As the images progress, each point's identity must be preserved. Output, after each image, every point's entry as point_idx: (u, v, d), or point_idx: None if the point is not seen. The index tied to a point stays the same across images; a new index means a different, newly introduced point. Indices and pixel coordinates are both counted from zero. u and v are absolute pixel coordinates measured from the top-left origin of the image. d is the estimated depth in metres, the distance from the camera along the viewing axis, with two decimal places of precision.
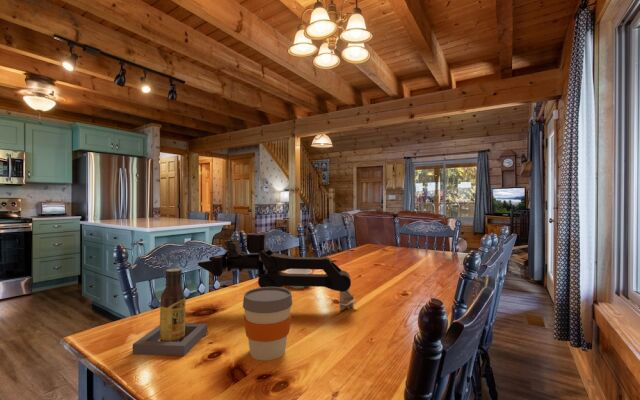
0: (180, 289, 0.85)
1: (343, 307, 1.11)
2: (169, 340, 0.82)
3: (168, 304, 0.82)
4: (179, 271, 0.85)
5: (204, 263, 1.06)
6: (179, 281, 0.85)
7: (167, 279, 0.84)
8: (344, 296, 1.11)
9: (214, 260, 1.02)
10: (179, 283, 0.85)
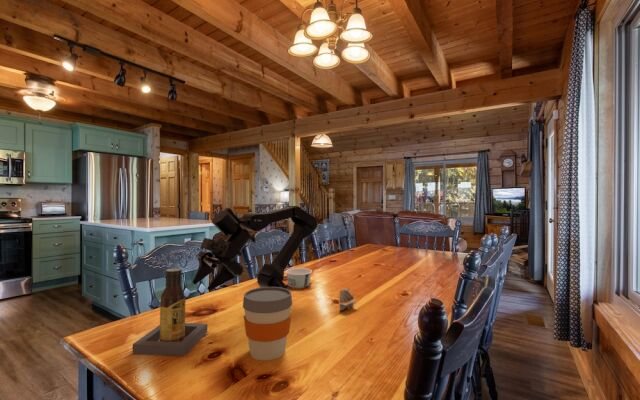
0: (180, 289, 0.85)
1: (343, 307, 1.11)
2: (169, 340, 0.82)
3: (168, 304, 0.82)
4: (179, 271, 0.85)
5: (215, 281, 0.88)
6: (179, 281, 0.85)
7: (167, 279, 0.84)
8: (344, 296, 1.11)
9: (229, 265, 0.87)
10: (179, 283, 0.85)
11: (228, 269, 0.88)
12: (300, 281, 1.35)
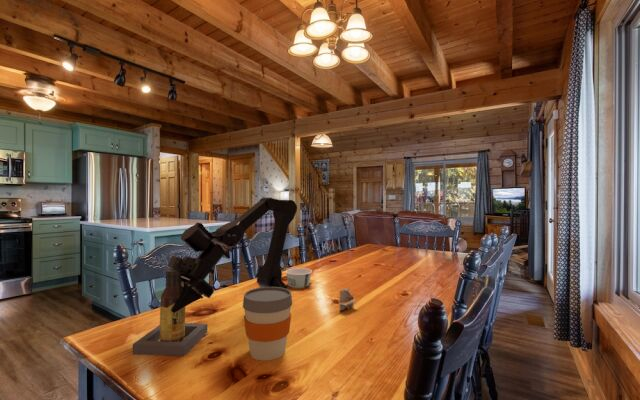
0: (180, 289, 0.85)
1: (343, 307, 1.11)
2: (169, 340, 0.82)
3: (168, 304, 0.82)
4: (179, 271, 0.85)
5: (180, 302, 0.82)
6: (179, 281, 0.85)
7: (167, 279, 0.84)
8: (344, 296, 1.11)
9: (197, 286, 0.80)
10: (179, 283, 0.85)
11: (194, 289, 0.82)
12: (300, 281, 1.35)
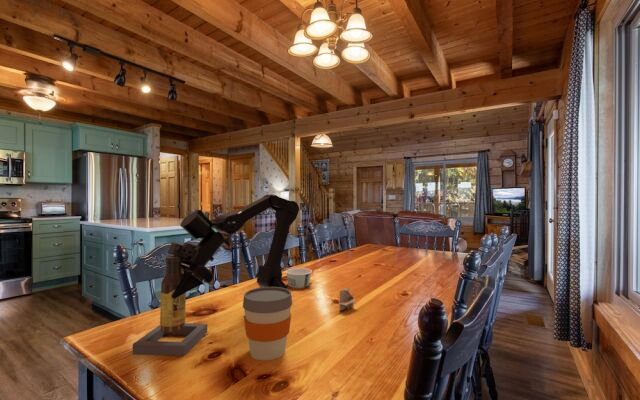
0: (180, 276, 0.85)
1: (343, 307, 1.11)
2: (169, 326, 0.82)
3: (168, 290, 0.82)
4: (179, 258, 0.85)
5: (180, 288, 0.82)
6: (179, 268, 0.85)
7: (167, 266, 0.84)
8: (344, 296, 1.11)
9: (197, 272, 0.80)
10: (179, 270, 0.85)
11: (194, 275, 0.83)
12: (300, 281, 1.35)
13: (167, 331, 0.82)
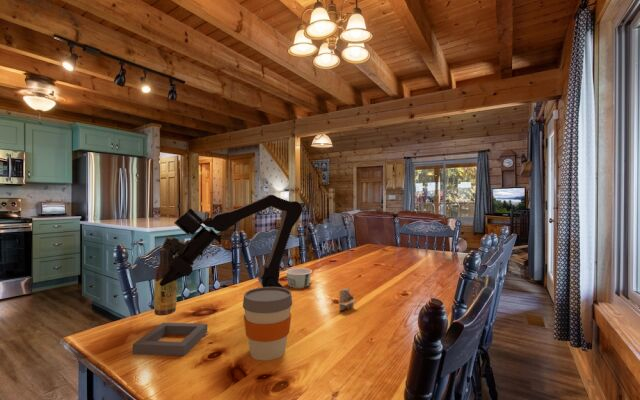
0: None
1: (343, 307, 1.11)
2: (158, 310, 0.94)
3: (158, 278, 0.94)
4: (169, 250, 0.96)
5: (166, 278, 0.93)
6: (170, 260, 0.96)
7: (160, 257, 0.96)
8: (344, 296, 1.11)
9: (174, 264, 0.89)
10: (169, 261, 0.96)
11: (175, 267, 0.92)
12: (300, 281, 1.35)
13: (157, 314, 0.94)
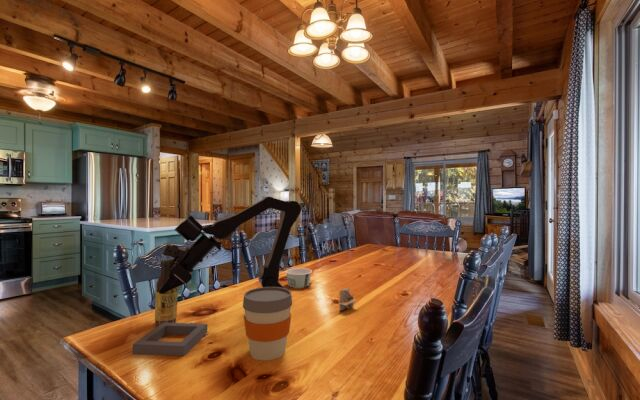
0: None
1: (343, 307, 1.11)
2: (158, 320, 0.95)
3: (159, 289, 0.95)
4: (170, 262, 0.97)
5: (165, 285, 0.92)
6: None
7: (161, 268, 0.97)
8: (344, 296, 1.11)
9: (173, 271, 0.90)
10: None
11: (175, 275, 0.91)
12: (300, 281, 1.35)
13: (157, 324, 0.95)
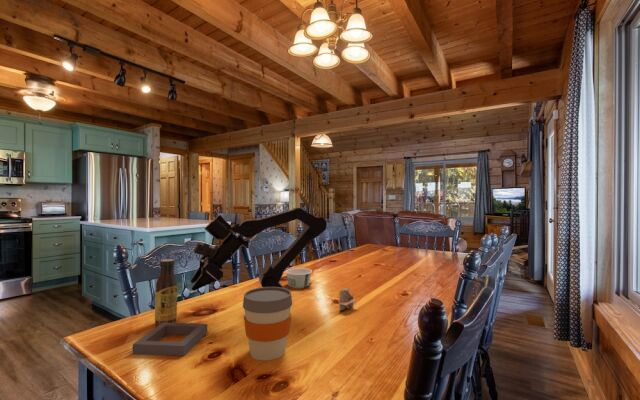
0: (170, 277, 0.97)
1: (343, 307, 1.11)
2: (158, 320, 0.95)
3: (158, 289, 0.95)
4: (169, 262, 0.97)
5: (198, 282, 0.96)
6: (170, 271, 0.97)
7: (161, 268, 0.97)
8: (344, 296, 1.11)
9: (206, 269, 0.94)
10: (170, 272, 0.97)
11: (207, 272, 0.95)
12: (300, 281, 1.35)
13: (157, 324, 0.95)
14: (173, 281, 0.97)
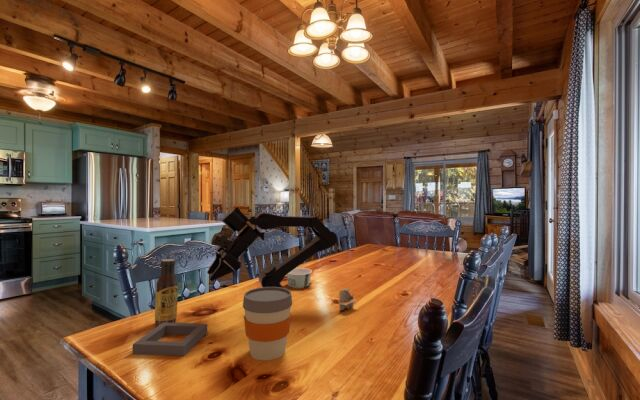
0: (171, 277, 0.97)
1: (343, 307, 1.11)
2: (158, 320, 0.95)
3: (159, 289, 0.95)
4: (170, 262, 0.97)
5: (216, 273, 0.97)
6: (170, 271, 0.97)
7: (161, 267, 0.97)
8: (344, 296, 1.11)
9: (225, 259, 0.95)
10: (170, 272, 0.97)
11: (226, 263, 0.96)
12: (300, 281, 1.35)
13: (157, 324, 0.95)
14: (174, 281, 0.97)
